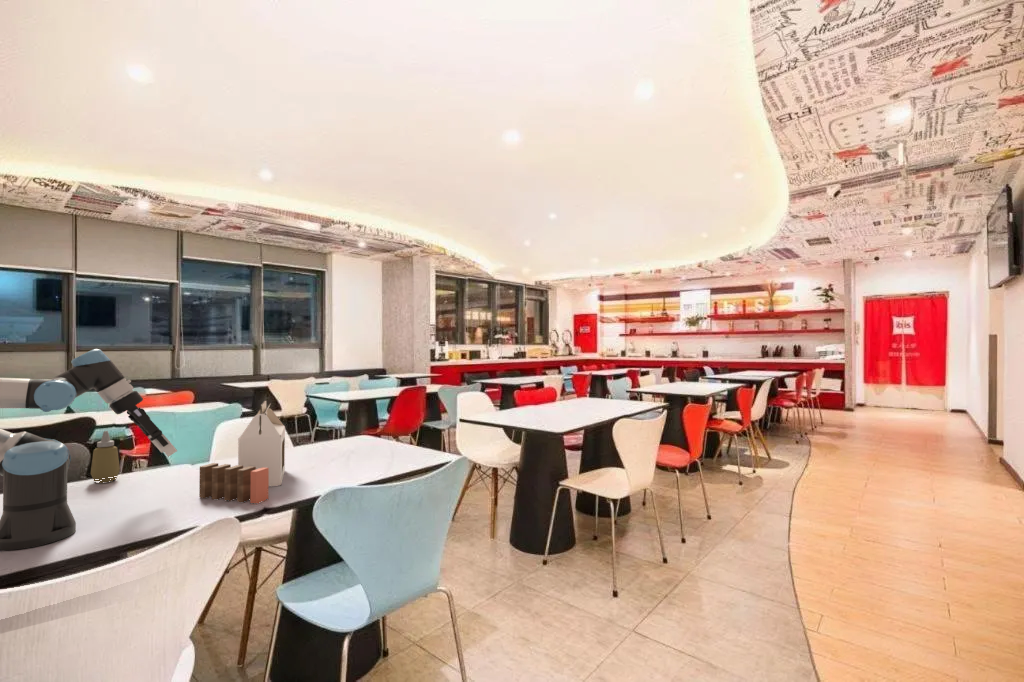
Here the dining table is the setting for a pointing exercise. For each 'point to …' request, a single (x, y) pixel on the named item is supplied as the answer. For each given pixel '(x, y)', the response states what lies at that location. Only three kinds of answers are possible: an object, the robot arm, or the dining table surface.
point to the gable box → (264, 444)
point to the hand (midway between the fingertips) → (169, 451)
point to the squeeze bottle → (105, 460)
